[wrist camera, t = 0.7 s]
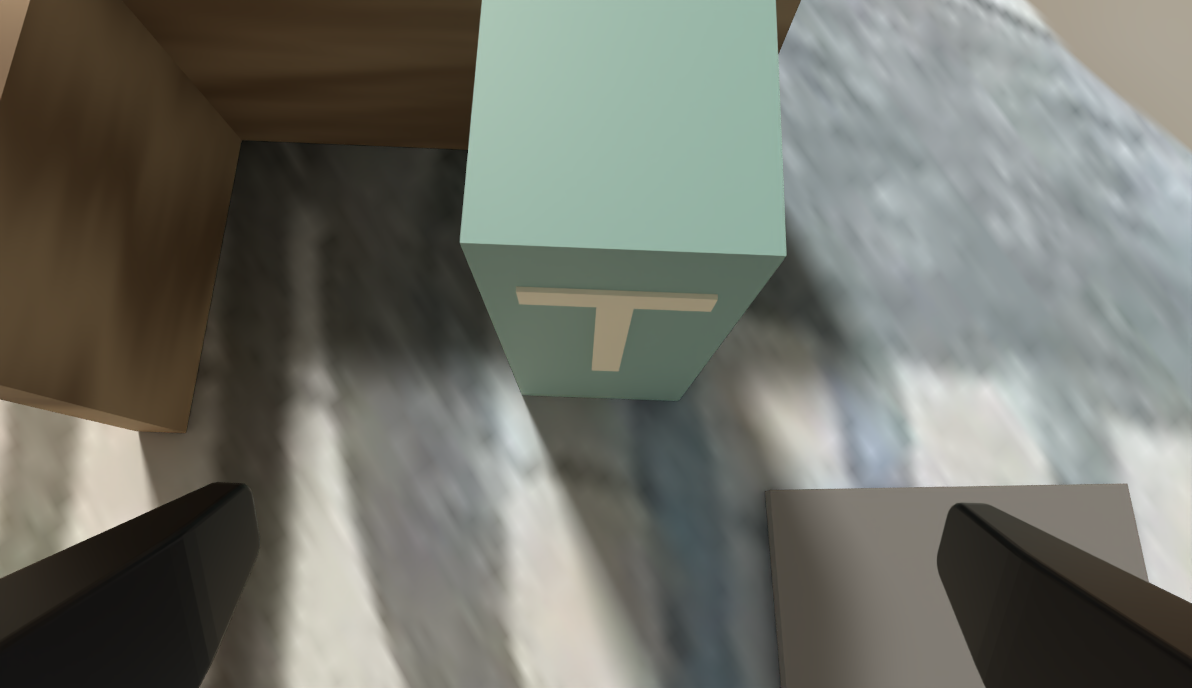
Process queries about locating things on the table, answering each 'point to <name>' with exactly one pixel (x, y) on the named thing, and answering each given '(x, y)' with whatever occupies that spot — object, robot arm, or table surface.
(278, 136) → the screen
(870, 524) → the mat
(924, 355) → the table surface
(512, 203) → the block
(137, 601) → the robot arm
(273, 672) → the table surface
